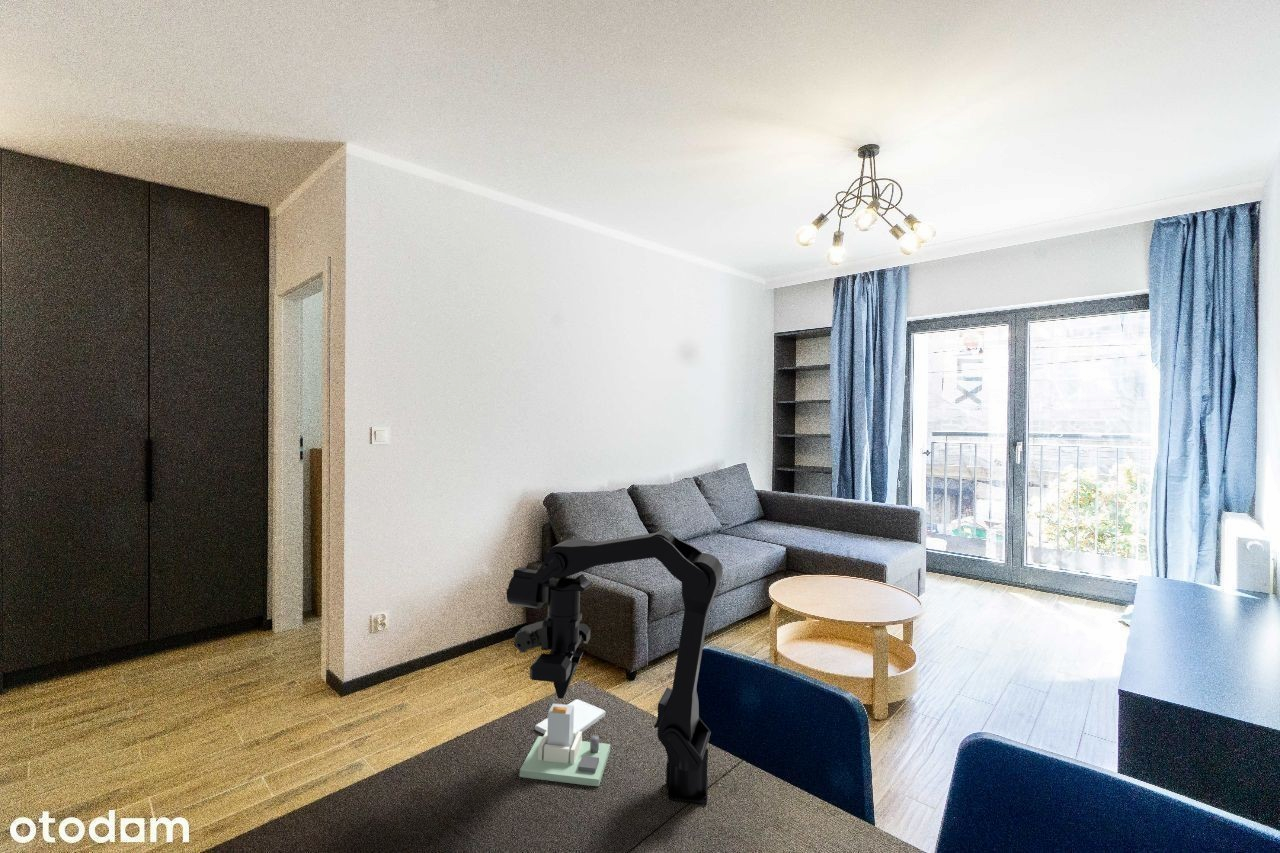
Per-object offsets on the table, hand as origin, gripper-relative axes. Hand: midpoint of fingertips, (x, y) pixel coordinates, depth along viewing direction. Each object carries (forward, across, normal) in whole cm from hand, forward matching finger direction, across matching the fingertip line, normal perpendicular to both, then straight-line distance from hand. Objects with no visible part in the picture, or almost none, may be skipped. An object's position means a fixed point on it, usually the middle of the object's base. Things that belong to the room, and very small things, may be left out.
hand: (561, 696), depth 98 cm
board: (+12, +1, +2) cm, 12 cm away
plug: (+10, 0, 0) cm, 10 cm away
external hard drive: (+12, -12, -1) cm, 17 cm away
